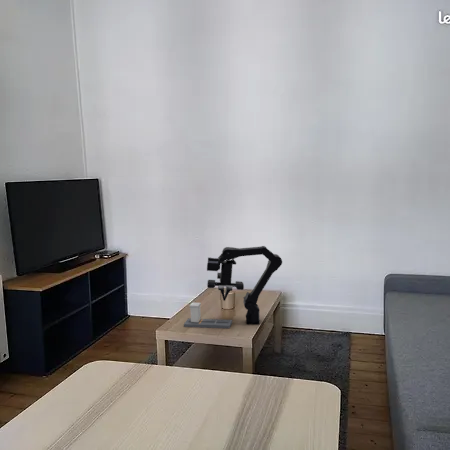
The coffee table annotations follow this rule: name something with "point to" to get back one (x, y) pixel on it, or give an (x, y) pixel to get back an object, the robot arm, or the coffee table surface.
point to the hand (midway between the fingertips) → (224, 300)
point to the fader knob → (195, 312)
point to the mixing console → (209, 323)
